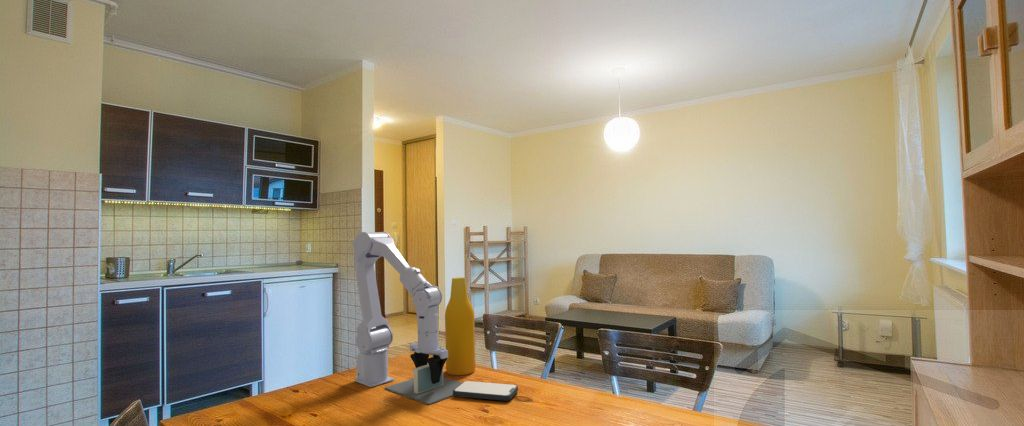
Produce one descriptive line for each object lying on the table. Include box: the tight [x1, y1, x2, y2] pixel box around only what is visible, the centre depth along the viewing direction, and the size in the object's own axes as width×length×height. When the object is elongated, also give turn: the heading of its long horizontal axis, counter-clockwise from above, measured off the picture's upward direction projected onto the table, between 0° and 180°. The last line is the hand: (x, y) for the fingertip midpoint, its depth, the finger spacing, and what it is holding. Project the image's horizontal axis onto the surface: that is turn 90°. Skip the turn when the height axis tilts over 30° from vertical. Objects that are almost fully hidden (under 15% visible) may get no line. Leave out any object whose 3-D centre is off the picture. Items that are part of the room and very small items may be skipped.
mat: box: [384, 376, 463, 406], centre depth 128 cm, size 20×16×1 cm
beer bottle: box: [444, 276, 477, 376], centre depth 144 cm, size 9×9×29 cm
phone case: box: [453, 380, 519, 402], centre depth 122 cm, size 9×2×16 cm
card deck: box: [413, 364, 444, 394], centre depth 126 cm, size 2×9×6 cm, turn 138°
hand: (429, 380), depth 126 cm, fingers open, 5 cm apart
